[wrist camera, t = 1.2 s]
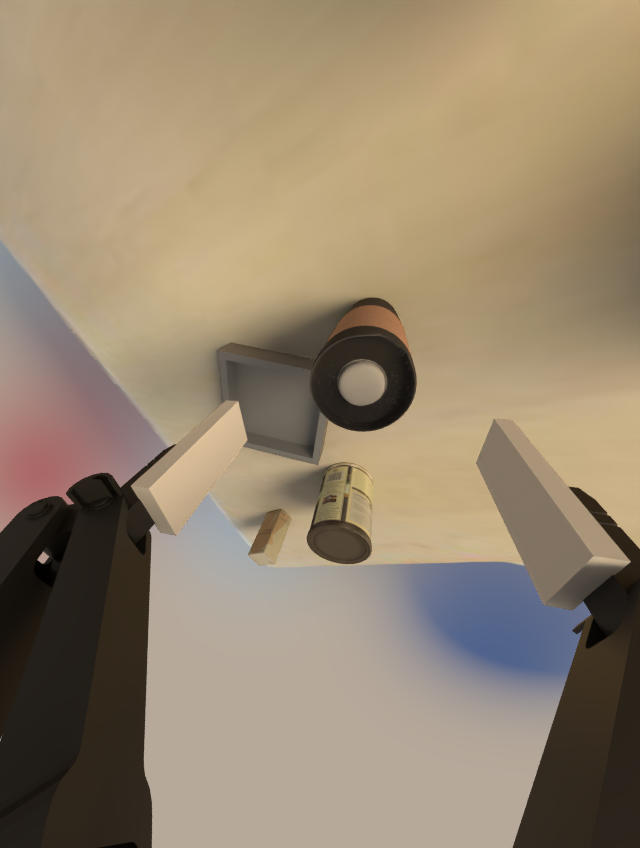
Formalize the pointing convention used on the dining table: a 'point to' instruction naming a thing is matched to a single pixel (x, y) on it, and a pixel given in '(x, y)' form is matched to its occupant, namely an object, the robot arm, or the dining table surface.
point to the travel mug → (365, 369)
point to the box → (270, 538)
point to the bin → (274, 401)
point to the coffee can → (343, 515)
